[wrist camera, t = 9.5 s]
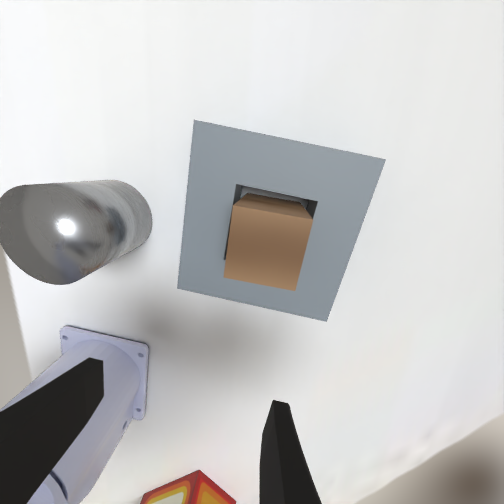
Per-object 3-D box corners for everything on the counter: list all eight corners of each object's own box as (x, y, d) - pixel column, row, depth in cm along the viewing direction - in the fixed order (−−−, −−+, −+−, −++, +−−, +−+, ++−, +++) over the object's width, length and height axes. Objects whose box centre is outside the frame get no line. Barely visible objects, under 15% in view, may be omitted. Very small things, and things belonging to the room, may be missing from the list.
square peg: (288, 251, 17) (295, 291, 12) (240, 242, 17) (223, 277, 12) (299, 202, 16) (313, 219, 10) (247, 193, 16) (233, 205, 10)
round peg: (150, 255, 18) (95, 293, 13) (86, 241, 18) (3, 273, 13) (154, 188, 17) (91, 197, 11) (83, 173, 17) (-15, 174, 11)
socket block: (318, 298, 18) (326, 321, 15) (192, 270, 18) (177, 288, 16) (364, 161, 15) (385, 159, 12) (209, 129, 15) (193, 119, 12)
